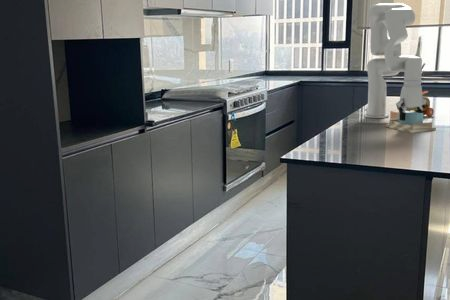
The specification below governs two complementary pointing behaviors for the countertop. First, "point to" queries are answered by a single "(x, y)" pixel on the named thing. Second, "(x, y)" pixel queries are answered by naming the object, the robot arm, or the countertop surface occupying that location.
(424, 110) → the toy helicopter
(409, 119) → the light blue block
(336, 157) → the countertop surface
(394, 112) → the peach brick
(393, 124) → the jig
